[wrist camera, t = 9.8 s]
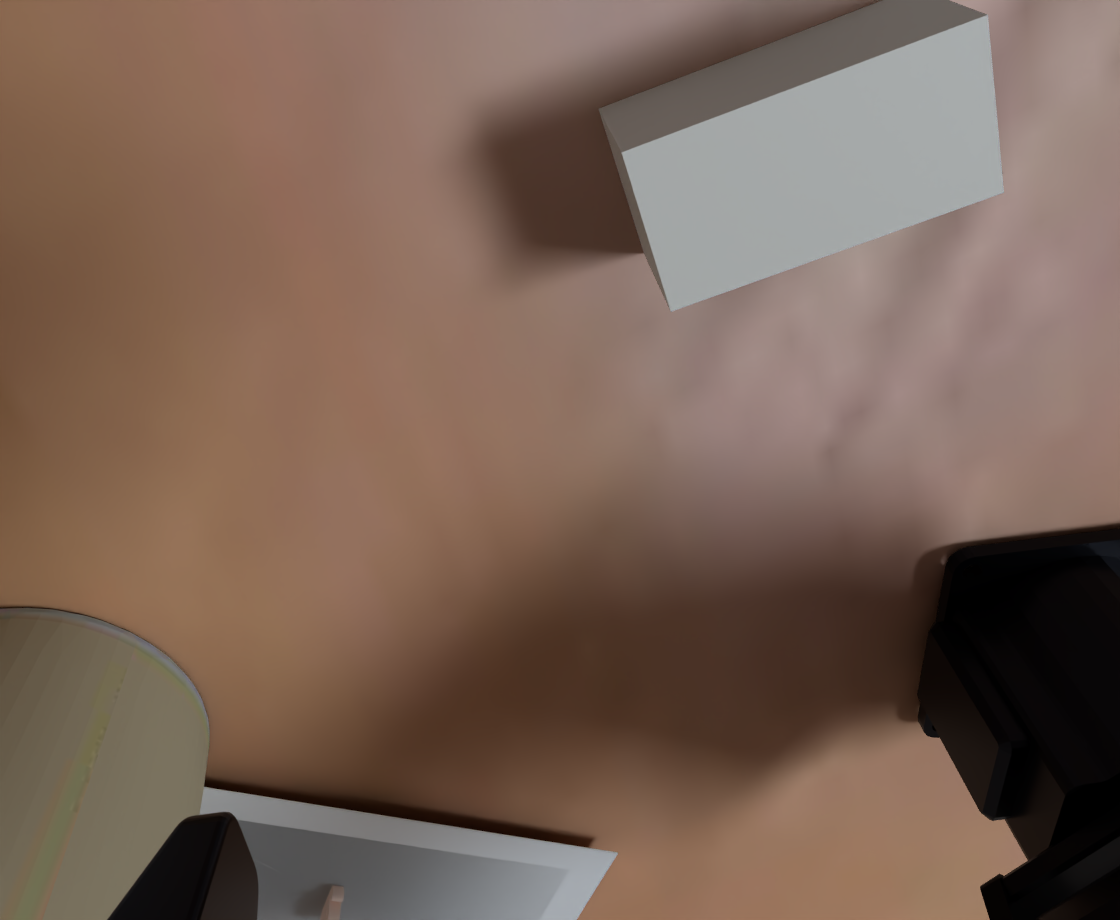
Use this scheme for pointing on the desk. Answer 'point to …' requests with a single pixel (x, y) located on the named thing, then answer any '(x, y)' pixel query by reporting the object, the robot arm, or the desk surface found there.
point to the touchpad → (402, 866)
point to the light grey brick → (809, 145)
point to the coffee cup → (89, 762)
